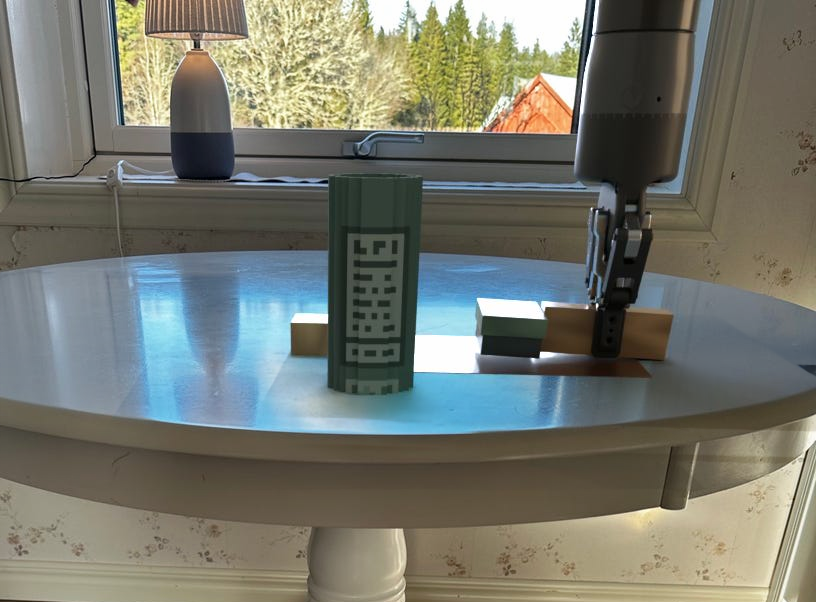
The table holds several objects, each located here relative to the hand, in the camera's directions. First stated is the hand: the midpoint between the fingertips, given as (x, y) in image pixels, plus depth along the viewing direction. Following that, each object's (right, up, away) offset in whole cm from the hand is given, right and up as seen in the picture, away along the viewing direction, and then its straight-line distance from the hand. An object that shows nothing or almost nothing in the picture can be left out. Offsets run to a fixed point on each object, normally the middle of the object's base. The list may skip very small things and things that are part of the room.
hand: (601, 352), depth 77 cm
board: (-7, -1, +1) cm, 8 cm away
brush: (-3, 0, 0) cm, 3 cm away
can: (-19, -6, -8) cm, 22 cm away
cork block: (-21, +1, +1) cm, 21 cm away
